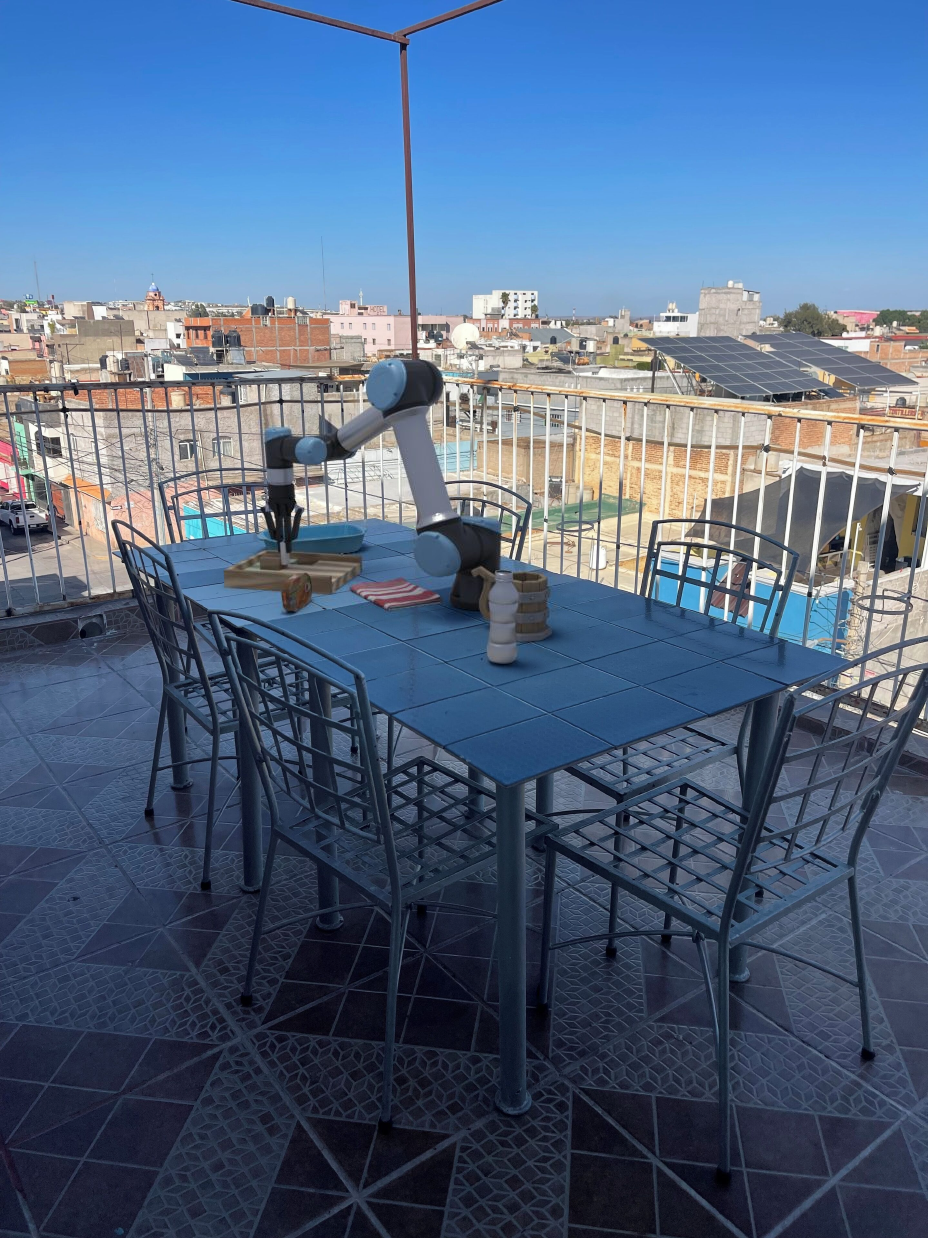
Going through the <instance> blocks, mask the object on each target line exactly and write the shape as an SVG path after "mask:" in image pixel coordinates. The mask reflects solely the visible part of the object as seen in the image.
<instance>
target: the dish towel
mask: <svg viewBox="0 0 928 1238" xmlns="http://www.w3.org/2000/svg"><path fill="white" fill-rule="evenodd" d="M349 591H350V592H352V593H354V594H356V595H358V596H359V597H360V598H363V599H365V600H366V601H368V600H369V602H371V603H373V604H374V605H376V606H378V607H380V608H381V607H382V609H384V610H387V611H388V612H391V611H390V610H393V611H398V609H399V610H404V609H403V608H406V609H411V608H410V607H412V608H416V607H415V606H418V607H423V606H424V605H425V606H429V605H430V604H431V605H435V604H441V603H442V602H441V601H442V600H443V599H442V597H441V595H440V594H438V593H436V592H434V591H432V590H429V589H424V588H423V587H420V586H419V585H416V584H413V583H410V582H409V581H407V580H406V578H404V577H399V578H395V579H392V580H386V581H376V582H365V581H364V582H363V581H362V582H358V583H355V584H352V585H351V586H350V587H349Z"/></svg>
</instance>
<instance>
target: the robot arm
mask: <svg viewBox="0 0 928 1238" xmlns="http://www.w3.org/2000/svg"><path fill="white" fill-rule="evenodd" d="M444 384H445V382H444V377H443V374H442V372H441V370H440V369H439V368H438V367H437V365H435V364H434V363H433V362H430V360H426V359H420V358H419V359H398V358H390V359H385V360H384V359H383V360H380V361H378V362H377V363H376V364H374V365H373V366H372V367H371V369H370V370H369V372H368V376H367V377H366V381H365V394H366V397H367V400H368V402H369V404H370V405H371V406H370V407H368V408H367V409H365V410H364V411H362V412H361V413H359V414H358V415H356V416H355V417H353V418H352V419H351V420H350V421H348V422H347V423H345V424H344V425H342V426H341V427H339V428H338V429H337V430H335V431H334V432H332V433H328V434H317V435H316V434H315V435H307V436H306V435H304V436H299V435H297V436H296V435H293V433H292V429H291V428H290V427H285V426H271V427H267V428H265V430H264V441H263V442H264V443H263V444H264V451H265V452H264V453H265V463H266V464H265V466H266V467H265V468H266V482H267V483H268V484H267V496H268V499H267V502H266V503H267V504H264V505H263V506H261V507H259V509H260V512H261V513H262V515H263V516H264V521H265V524H266V527H267V530H268V531H269V534H270V538H271V539H272V540H276V541H277V545H278V552H279V553H281V564H282V565H287V564H288V563H290V558H289V553H291V552H292V544H291V542H292V541H293V540H295V539H297V538H298V532H299V527H300V525H301V520H302V515H303V513H304V512H305V507H303V506H302V507H301V506H299V505H298V504H297V503H298V502H297V501H296V498H295V497H296V491H295V489H296V488H295V483H293V482H294V481H295V476H294V464H297V465H304V466H307V467H310V466H319V465H321V464H323V463H326V462H336V461H346V460H348V459H353V458H354V457H355V456H356V455H357V452H358V450H359V449H360V448H361V447H363V446H364V445H366V444H367V443H369V442H371V441H373V440H374V439H375V438H377V437H378V436H380V435H381V434H383V433H385V432H386V431H388V430H389V429H391V428H392V430H393V433H394V434H393V435H394V437H395V440H396V445H397V447H398V448H397V449H398V450H399V454H400V457H401V461H402V464H403V468H404V471H405V474H406V478H407V481H408V485H409V488H410V491H411V495H412V499H413V501H414V505H415V508H416V512H417V515H418V520H419V521H418V523H417V525H416V527H415V530H416V535H417V537H416V538H415V540H414V545H413V547H412V553H413V557H414V560H415V563H416V564H417V566H418V567H419V569H421V571H423V572H424V573H426V574H427V575H429V576H430V577H433V578H444V577H450V576H455V577H454V580H453V583H452V586H451V589H450V592H449V604H450V605H451V606H453V607H455V608H458V609H463V610H469V611H480V609H479V599H480V597H481V594H482V591H483V587H484V578H483V577H482V576H480V575H478V576H476V577H474V576H473V574H472V572H471V571H472V570H474V569H476V568H478V567H480V566H482V567H483V568H485V569H486V570H487V571H489V572H491V573H492V574H494V575H495V571H497V570H501V555H502V553H501V551H502V550H501V549H502V545H501V544H502V535H503V533H502V523H501V522H500V520H498V519H496V518H492V517H486V516H480V517H478V516H474V515H466V516H462V515H461V514H459V513H457V512H456V511H455V510H453V506H452V503H451V499H450V496H449V493H448V490H447V486H446V483H445V480H444V475H443V471H442V469H441V466H440V465H441V464H440V461H439V458H438V455H437V452H436V447H435V444H434V441H433V437H432V434H431V431H430V427H429V424H428V423H429V422H428V421H427V414H428V413H429V411H430V408H431V407H432V406H434V405H435V404H436V403H437V402H438V401H439V400H440V398H441V397H442V395H443V392H444V386H445V385H444ZM271 511H272V512H271ZM293 511H294V513H295V514H294V517H293V521H292V513H293ZM454 511H455V512H454ZM272 513H273V515H272ZM273 517H274V518H273ZM292 522H293V523H292ZM291 527H292V532H291ZM283 528H284V535H283ZM284 539H285V541H283V540H284ZM494 584H495V582H493V586H494ZM488 605H489V602H488ZM489 610H490V608H489Z"/></svg>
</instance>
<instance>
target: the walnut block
mask: <svg viewBox="0 0 928 1238" xmlns="http://www.w3.org/2000/svg"><path fill="white" fill-rule="evenodd" d="M259 559H260V570H273V571H280V570H282V569H284V568H285V567H287V566H288V564H287V565H282V564H281V554H266V555H264V556H262V557H260V558H259Z"/></svg>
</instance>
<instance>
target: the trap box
mask: <svg viewBox="0 0 928 1238" xmlns="http://www.w3.org/2000/svg"><path fill="white" fill-rule="evenodd" d="M266 554H281V553H279V552H278V551H274V550H268V549H263V550H262V551H260V552H257V553H255V554H254V555H252V556H250V557H248V558H246V559H244V560H242V561H240V562H238V563H236V564H234V565H232V566H230V567H227V568H225V569H224V570H223V581H224V588H227V589H229V588H230V589H242V590H256V591H258V590H259V591H270V590H271V591H273V592H274V591H275V592H281V589H282V585H283V583H284V582H285V581H286V580H288V579H289V578H291V577H292V576H294V575H295V574H297V573H307V574H308V575H309V576H310V578H311V583H312V594H317V593H318V594H317V595H332V594H333V593H335V592H336V591H337V590H338V589H341V587H343V586H345V584H347V583H349V582H350V581H352V580H353V579H354V578H355V577H357V576H359V575H360V572H361V573H362V572H363V560H362V559H363V557H362V555H361V554H358V555H357V554H327V553H310V552H291V553H289V558H290V563H288V566H287V567H285V568H284V569H282V570H280V571H273V570H260V559H259V558H260V557H262V556H264V555H266Z"/></svg>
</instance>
